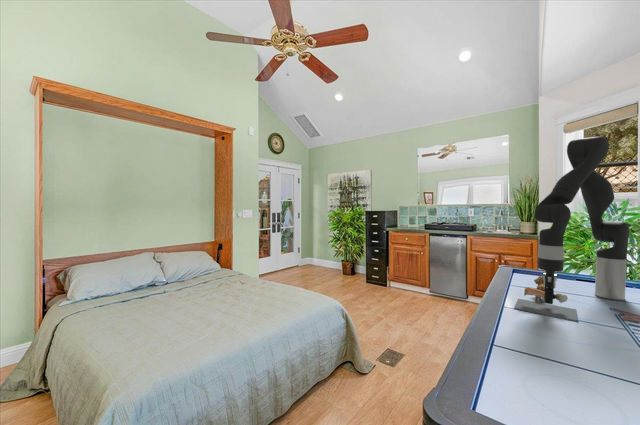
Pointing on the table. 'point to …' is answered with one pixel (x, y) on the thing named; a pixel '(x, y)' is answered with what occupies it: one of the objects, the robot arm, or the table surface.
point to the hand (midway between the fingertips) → (549, 300)
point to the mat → (547, 309)
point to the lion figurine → (539, 287)
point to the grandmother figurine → (542, 294)
